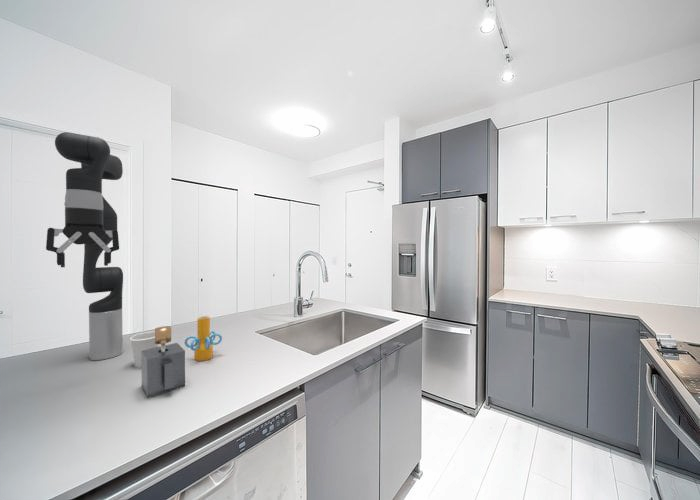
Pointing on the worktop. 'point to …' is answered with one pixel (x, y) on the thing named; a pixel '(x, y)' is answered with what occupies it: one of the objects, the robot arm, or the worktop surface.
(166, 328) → the plunger
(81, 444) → the worktop surface
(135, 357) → the dixie cup
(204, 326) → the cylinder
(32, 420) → the worktop surface
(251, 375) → the worktop surface
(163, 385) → the frame
